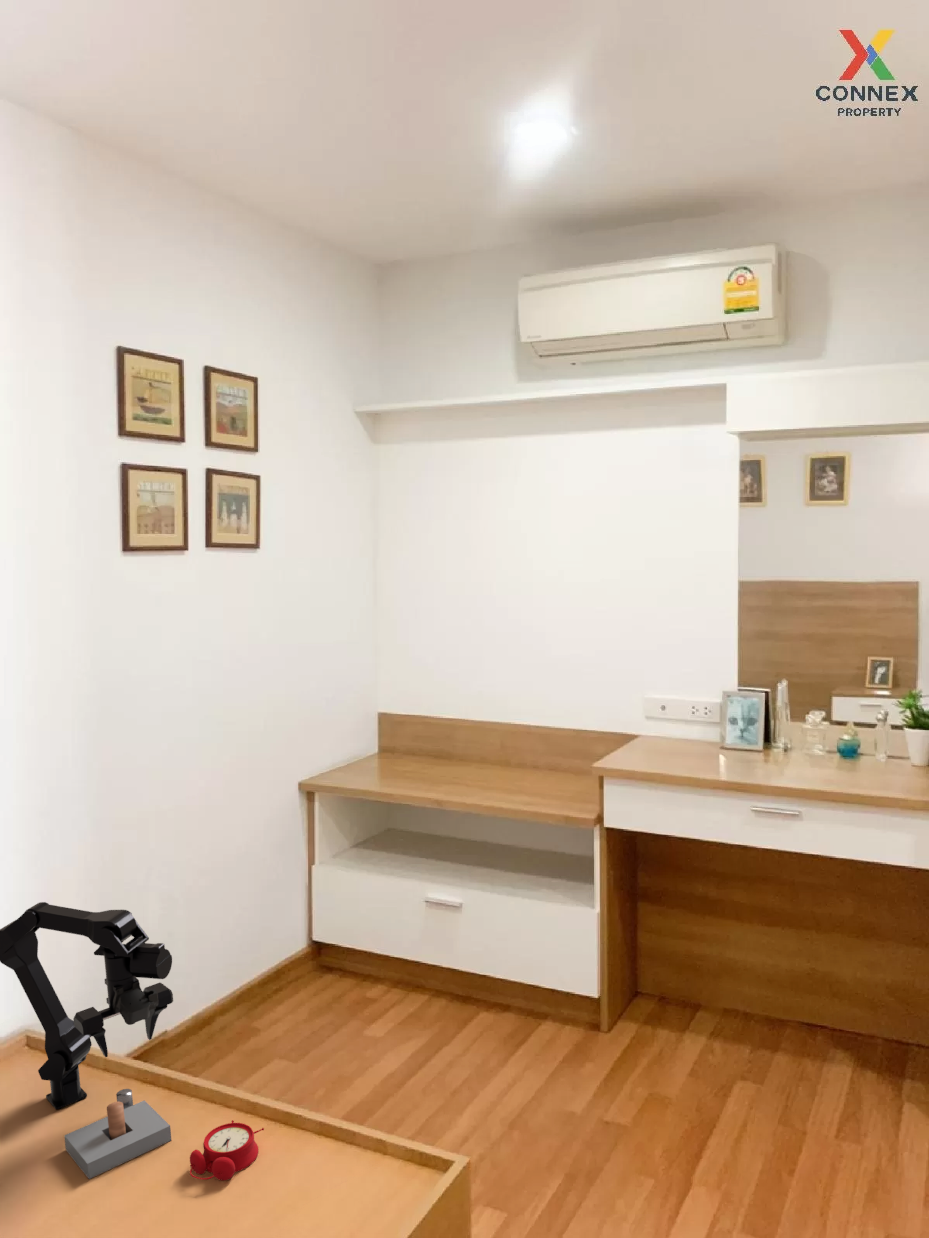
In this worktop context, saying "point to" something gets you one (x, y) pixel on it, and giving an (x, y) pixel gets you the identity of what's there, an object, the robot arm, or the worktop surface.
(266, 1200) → the worktop surface
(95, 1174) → the block
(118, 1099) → the short stub
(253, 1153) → the alarm clock
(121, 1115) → the long dowel
